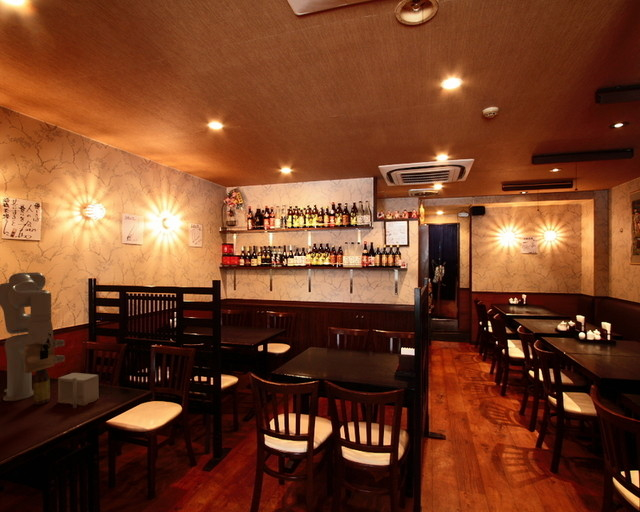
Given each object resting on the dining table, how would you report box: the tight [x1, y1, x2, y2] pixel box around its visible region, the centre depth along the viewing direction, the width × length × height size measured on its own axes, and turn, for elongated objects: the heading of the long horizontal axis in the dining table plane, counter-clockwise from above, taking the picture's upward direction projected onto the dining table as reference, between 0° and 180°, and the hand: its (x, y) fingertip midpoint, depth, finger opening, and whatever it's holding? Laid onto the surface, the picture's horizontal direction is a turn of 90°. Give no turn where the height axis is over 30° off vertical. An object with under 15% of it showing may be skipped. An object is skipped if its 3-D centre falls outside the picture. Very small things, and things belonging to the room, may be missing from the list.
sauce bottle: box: [32, 368, 51, 405], centre depth 172 cm, size 7×6×20 cm
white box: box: [57, 372, 100, 409], centre depth 172 cm, size 16×12×14 cm
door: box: [25, 339, 66, 374], centre depth 162 cm, size 4×15×12 cm, turn 165°
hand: (41, 358), depth 160 cm, fingers closed on door, 3 cm apart
